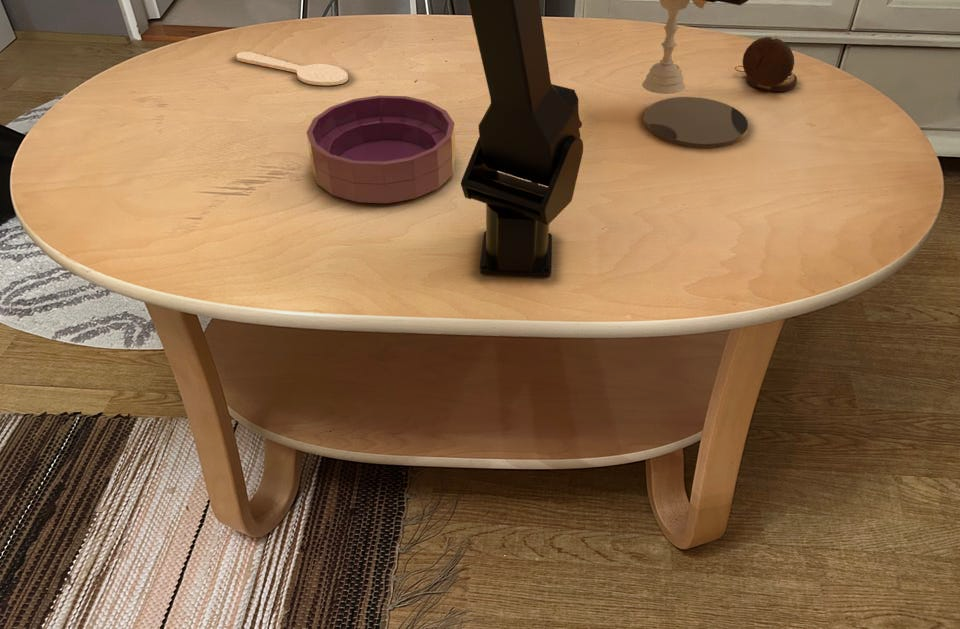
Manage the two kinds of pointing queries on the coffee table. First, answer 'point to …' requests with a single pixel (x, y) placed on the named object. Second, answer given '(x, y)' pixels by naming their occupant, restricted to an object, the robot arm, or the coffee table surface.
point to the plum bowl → (382, 148)
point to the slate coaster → (695, 122)
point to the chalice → (667, 56)
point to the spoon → (299, 69)
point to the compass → (769, 64)
